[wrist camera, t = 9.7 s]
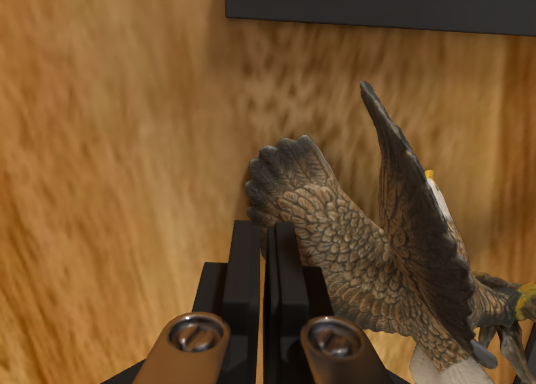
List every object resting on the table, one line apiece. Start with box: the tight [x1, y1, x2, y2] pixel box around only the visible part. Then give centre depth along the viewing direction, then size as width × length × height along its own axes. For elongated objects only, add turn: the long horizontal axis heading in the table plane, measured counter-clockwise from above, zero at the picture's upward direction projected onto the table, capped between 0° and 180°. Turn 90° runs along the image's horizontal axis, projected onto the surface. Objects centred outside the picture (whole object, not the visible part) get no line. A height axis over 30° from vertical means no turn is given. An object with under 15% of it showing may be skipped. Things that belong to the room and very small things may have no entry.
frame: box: [225, 0, 536, 384], centre depth 14 cm, size 14×16×1 cm
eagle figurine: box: [245, 81, 536, 384], centre depth 11 cm, size 8×7×9 cm
